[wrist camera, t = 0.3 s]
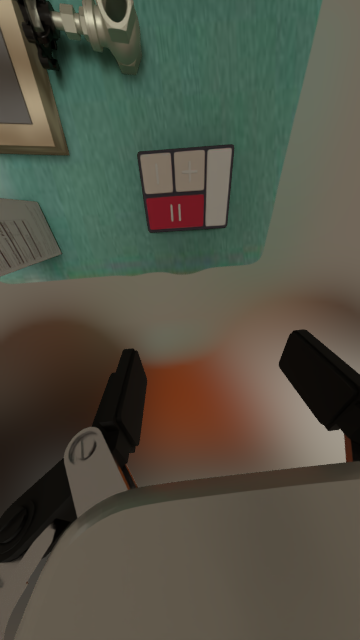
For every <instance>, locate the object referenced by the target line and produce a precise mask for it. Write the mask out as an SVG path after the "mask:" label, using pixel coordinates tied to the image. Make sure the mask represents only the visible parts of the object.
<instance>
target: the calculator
mask: <svg viewBox="0 0 360 640" xmlns="http://www.w3.org/2000/svg"><path fill="white" fill-rule="evenodd" d="M137 157H138V164H139V171H140V178H141V184H142V191H143V198H144V205H145V212H146V218H147V225H148V231H149V232H150V233H153V232H168V231H183V230H198V229H213V228H225V227H226V226H227V221H228V210H229V200H230V189H231V178H232V168H233V157H234V145H232V144H230V145H217V146H204V147H192V148H179V149H166V150H153V151H141V152H138V154H137Z"/></svg>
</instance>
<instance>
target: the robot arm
mask: <svg viewBox="0 0 360 640" xmlns="http://www.w3.org/2000/svg"><path fill="white" fill-rule="evenodd" d="M279 367H280V369H281V370H282V372H283V373H284V374H285V375H286V377H287V378H288V380H289V381H290V383H291V384H292V385H293V387H294V388H295V389H296V391H297V392H298V393H299V395H300V396H301V398H302V399H303V400H304V402H305V403H306V404H307V406H308V407H309V409H310V410H311V411H312V413H313V414H314V416H315V417H316V418H317V419H318V421H319V422H320V423H321V424H323V425H324V426H325V427H326V429H327V430H328V431H332V430H339V429H341V430H342V431H343V433H344V438H345V452H346V463H337V464H327V465H318V466H309V467H299V468H291V469H281V470H272V471H264V472H255V473H246V474H237V475H229V476H220V477H211V478H203V479H194V480H185V481H178V482H171V483H163V484H156V485H149V486H145V487H139V488H138V486H137V484H136V482H135V480H134V478H133V476H132V474H131V472H130V470H129V468H128V467H127V464H126V463H127V462H128V457H129V453H134V452H135V446H138V445H139V441H140V433H141V426H142V418H143V410H144V402H145V394H146V386H147V378H146V375H145V372H144V369H143V366H142V363H141V360H140V357H139V354H138V351H135V350H134V349H124V350H123V352H122V355H121V358H120V361H119V364H118V367H117V370H116V372H115V373H112V374H111V376H110V377H109V380H108V383H107V386H106V388H105V391H104V394H103V397H102V399H101V402H100V405H99V408H98V411H97V413H96V416H95V419H94V422H93V425H92V427H88V428H85V429H83V430H82V431H80V432H79V433H78V434H77V435H75V436H74V437H73V439H72V440H71V441H70V443H69V444H68V446H67V449H66V451H65V454H64V458H63V459H62V460H61V461H60V462H58V463H57V464H56V465H55V466H54V467H53V468H52V469H51V470H50V471H49V472H47V473H46V474H45V475H44V476H43V477H42V478H41V479H39V480H38V481H37V482H36V483H35V484H34V485H33V486H32V487H31V488H30V489H28V490H27V491H26V492H25V493H24V494H23V495H22V496H21V497H19V498H18V499H17V500H16V501H15V502H14V503H13V504H12V505H11V506H10V507H9V508H8V509H7V510H6V511H5V512H4V514H3V515H2V516H1V518H0V640H4V634H5V629H6V626H7V623H8V620H9V617H10V614H11V613H12V611H13V609H14V607H15V605H16V603H17V601H18V599H19V598H20V596H21V594H22V593H23V592H24V590H25V588H26V587H27V585H28V584H29V583H28V582H27V580H28V579H29V577H30V576H31V574H32V573H33V571H34V570H35V568H36V566H37V565H38V563H39V562H40V560H41V559H42V558H44V557H46V556H47V555H48V554H49V552H51V553H50V555H49V557H48V559H47V561H46V563H45V565H44V567H43V569H42V572H41V574H40V576H39V578H38V581H37V583H36V585H35V587H34V590H33V592H32V595H31V597H30V600H29V602H28V604H27V607H26V609H25V612H24V615H23V617H22V620H21V622H20V625H19V627H18V630H17V633H16V635H15V638H14V640H360V374H358V373H357V372H356V371H355V370H354V369H352V368H351V367H350V366H349V365H348V364H346V363H345V362H344V361H343V360H341V359H340V358H339V357H338V356H337V355H336V354H334V353H333V352H332V351H331V350H329V349H328V348H327V347H326V346H325V345H324V344H322V343H321V342H320V341H319V340H318V339H316V338H315V337H314V336H313V335H312V334H311V333H309V332H308V331H307V330H295V331H293V332H292V333H291V334H290V335H289V338H288V340H287V343H286V346H285V348H284V351H283V353H282V356H281V359H280V361H279Z"/></svg>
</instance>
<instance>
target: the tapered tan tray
mask: <svg viewBox="0 0 360 640" xmlns="http://www.w3.org/2000/svg"><path fill="white" fill-rule="evenodd" d="M26 1H27V0H26ZM22 22H24V20H23V16H22V13H21V11H20V8H19V5H18V3H17V1H15V0H0V154H34V155H69V151H68V147H67V144H66V140H65V136H64V133H63V129H62V125H61V122H60V118H59V114H58V110H57V107H56V103H55V99H54V96H53V92H52V88H51V84H50V81H49V77H48V73H47V70H46V69H44V68H43V67H42V65H41V63H40V61H39V57H38V50H37V47H36V45H35V44H33V43H29V42H28V40H27V39H26V37H25V34H24V32H23V29H22V24H21V23H22Z"/></svg>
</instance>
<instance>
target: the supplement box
mask: <svg viewBox="0 0 360 640" xmlns="http://www.w3.org/2000/svg"><path fill="white" fill-rule="evenodd" d="M60 254H62V253H61V251H60V249H59V247H58V245H57V243H56V240H55V238H54V236H53V234H52V232H51V230H50V228H49V226H48V224H47V221H46V219H45V217H44V215H43V213H42V211H41V209H40V206H39V204H38V203H37V202H34V201H24V200H13V199H2V198H0V276H3V275H6V274H8V273H11V272H14V271H17V270H19V269H22V268H24V267H27V266H30V265H33V264H36V263H38V262H41V261H44V260H47V259H49V258H52V257H55V256H58V255H60Z"/></svg>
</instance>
